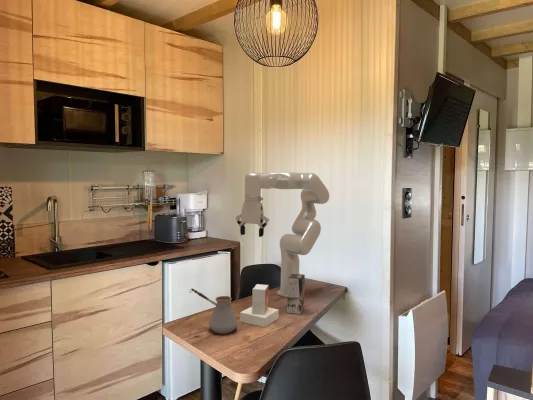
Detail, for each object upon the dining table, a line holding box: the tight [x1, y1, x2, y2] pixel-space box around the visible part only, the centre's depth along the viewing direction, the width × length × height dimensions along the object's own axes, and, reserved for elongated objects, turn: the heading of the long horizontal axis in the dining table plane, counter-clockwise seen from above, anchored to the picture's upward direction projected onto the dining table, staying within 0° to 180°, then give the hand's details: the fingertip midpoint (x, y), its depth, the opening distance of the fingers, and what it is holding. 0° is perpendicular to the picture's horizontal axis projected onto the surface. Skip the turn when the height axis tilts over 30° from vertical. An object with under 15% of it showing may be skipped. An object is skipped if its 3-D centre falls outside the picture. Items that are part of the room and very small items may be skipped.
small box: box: [251, 283, 270, 314], centre depth 170 cm, size 8×6×10 cm
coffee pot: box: [189, 288, 239, 335], centre depth 160 cm, size 21×12×15 cm, turn 67°
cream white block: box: [239, 306, 280, 328], centre depth 171 cm, size 12×12×4 cm
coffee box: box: [286, 273, 306, 315], centre depth 183 cm, size 9×6×16 cm
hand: (251, 235), depth 189 cm, fingers open, 9 cm apart
